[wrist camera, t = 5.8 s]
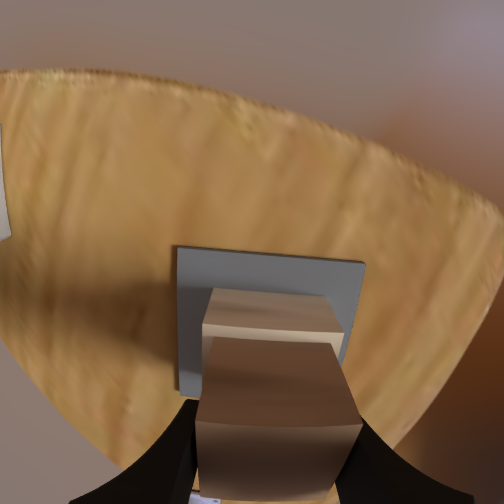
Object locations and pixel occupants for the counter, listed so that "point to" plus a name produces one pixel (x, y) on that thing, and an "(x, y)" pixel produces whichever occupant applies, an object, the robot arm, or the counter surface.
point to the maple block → (269, 319)
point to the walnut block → (273, 421)
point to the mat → (254, 279)
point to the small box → (3, 205)
